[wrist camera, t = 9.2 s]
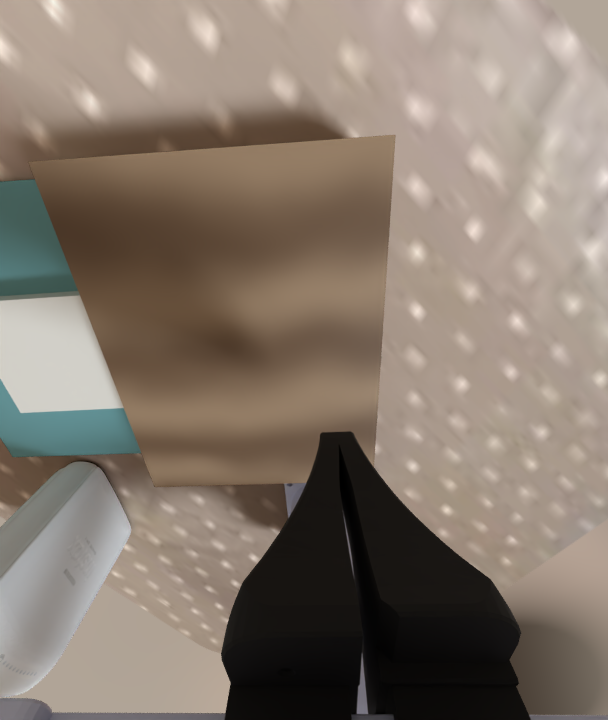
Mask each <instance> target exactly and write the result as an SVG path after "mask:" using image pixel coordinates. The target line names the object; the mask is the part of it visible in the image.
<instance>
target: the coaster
mask: <svg viewBox="0 0 608 720" xmlns="http://www.w3.org/2000/svg"><path fill="white" fill-rule="evenodd" d="M0 379H1V381H2V382H3V384H4V386H5V387H6V389H7V391H8V392H9V394H10V396H11V397H12V399H13V401H14V403H15V404H16V406H17V408H18V409H19V411H20V413H32V412H52V411H73V410H93V409H114V408H124V407H123V405H122V402H121V399H120V397H119V394H118V392H117V389H116V387H115V384H114V381H113V379H112V376H111V374H110V371H109V369H108V366H107V364H106V361H105V358H104V356H103V353H102V351H101V348H100V346H99V343H98V340H97V338H96V335H95V333H94V330H93V328H92V325H91V322H90V320H89V317H88V315H87V312H86V310H85V307H84V305H83V302H82V299H81V297H80V294H79V292H78V291H70V292H55V293H40V294H26V295H11V296H0Z"/></svg>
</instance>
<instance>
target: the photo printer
mask: <svg viewBox="0 0 608 720" xmlns="http://www.w3.org/2000/svg"><path fill="white" fill-rule="evenodd" d="M130 533H131V527H130V523H129V521H128V519H127V516H126V514H125V512H124V510H123V508H122V506H121V504H120V502H119V500H118V498H117V496H116V494H115V492H114V490H113V488H112V486H111V485H110V483H109V481H108V479H107V478H106V476H105V474H104V473H103V471H102V470H101V469H100V468H99V467H97V466H96V465H95V464H93V463H89V462H81V461H79V462H73V463H70V464H69V465H67V466H66V467H65V468H61V469H59V470H58V471H57V472H56V473H55V474H54V475H53V476H52V477H50V478H49V479H48V480H47V481H46V483H44V484H43V485H42V486H41V487H40V488H39V489H38V490H37V491H36V492H35V493H34V494H33V495H32V496H31V497H30V498H29V499H28V500H27V501H26V502H25V503H24V504H23V505H22V506H21V507H20V508H19V509H18V510H17V511H16V512H15V513H14V514H13V515H12V516H11V517H10V518H9V519H8V520H7V521H6V522H5V523H4V524H3V525H2V526H1V527H0V697H10V696H15V695H19V694H22V693H24V692H26V691H28V690H30V689H31V688H32V687H34V686H35V685H36V684H37V683H38V682H40V681H41V680H42V679H43V678H44V677H45V676H46V675H47V673H49V671H50V670H51V669H52V668H53V667H54V665H55V664H56V663H57V661H58V660H59V658H60V657H61V655H62V654H63V652H64V650H65V649H66V647H67V645H68V643H69V642H70V640H71V638H72V636H73V635H74V633H75V631H76V629H77V628H78V626H79V624H80V623H81V621H82V619H83V617H84V616H85V614H86V612H87V610H88V608H89V607H90V605H91V603H92V601H93V600H94V598H95V596H96V595H97V593H98V591H99V589H100V588H101V586H102V584H103V582H104V581H105V579H106V577H107V575H108V574H109V572H110V570H111V568H112V567H113V565H114V563H115V561H116V560H117V558H118V556H119V554H120V553H121V551H122V549H123V547H124V545H125V544H126V542H127V540H128V538H129V536H130Z"/></svg>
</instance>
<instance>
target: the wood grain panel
mask: <svg viewBox="0 0 608 720" xmlns="http://www.w3.org/2000/svg"><path fill="white" fill-rule="evenodd" d="M394 150H395V135H386V136H373V137H359V138H345V139H332V140H318V141H305V142H291V143H277V144H264V145H250V146H236V147H223V148H209V149H196V150H182V151H168V152H155V153H141V154H127V155H114V156H100V157H87V158H73V159H59V160H46V161H32V162H28V163H29V166H30V169H31V171H32V174H33V176H34V179H35V181H36V184H37V186H38V189H39V192H40V194H41V197H42V199H43V202H44V204H45V207H46V210H47V212H48V215H49V217H50V220H51V222H52V225H53V228H54V230H55V233H56V235H57V238H58V240H59V243H60V246H61V248H62V251H63V253H64V256H65V258H66V261H67V263H68V266H69V269H70V271H71V274H72V276H73V279H74V281H75V284H76V287H77V289H78V292H79V294H80V297H81V299H82V302H83V305H84V307H85V310H86V312H87V315H88V317H89V320H90V322H91V325H92V328H93V330H94V333H95V335H96V338H97V340H98V343H99V346H100V348H101V351H102V353H103V356H104V358H105V361H106V364H107V366H108V369H109V371H110V374H111V376H112V379H113V381H114V384H115V387H116V389H117V392H118V394H119V397H120V399H121V402H122V405H123V407H124V410H125V412H126V415H127V417H128V420H129V423H130V425H131V428H132V430H133V433H134V435H135V438H136V440H137V443H138V446H139V448H140V451H141V453H142V456H143V458H144V461H145V464H146V466H147V469H148V471H149V474H150V476H151V479H152V482H153V484H154V487H174V486H212V485H249V484H286V483H306V482H307V480H308V478H309V475H310V473H311V470H312V467H313V464H314V461H315V458H316V455H317V451H318V446H319V440H320V434H321V433H322V432H347V431H351V432H352V433H354V435H355V437H356V439H357V441H358V443H359V445H360V447H361V448H362V450H363V452H364V453H365V455H366V456H367V458H368V459H369V461H370V462H371V464H372V465H373V467H374V457H375V441H376V426H377V411H378V395H379V380H380V365H381V349H382V334H383V319H384V303H385V288H386V273H387V257H388V242H389V227H390V211H391V196H392V181H393V165H394Z"/></svg>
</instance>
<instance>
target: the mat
mask: <svg viewBox="0 0 608 720" xmlns="http://www.w3.org/2000/svg"><path fill="white" fill-rule="evenodd" d="M70 291H78V289H77V287H76V284H75V281H74V279H73V276H72V274H71V271H70V269H69V266H68V263H67V261H66V258H65V256H64V253H63V251H62V248H61V246H60V243H59V240H58V238H57V235H56V233H55V230H54V228H53V225H52V222H51V220H50V217H49V215H48V212H47V210H46V207H45V204H44V202H43V199H42V197H41V194H40V192H39V189H38V186H37V184H36V181H35V179H32V180H18V181H4V182H0V296H11V295H26V294H40V293H55V292H70ZM0 438H1V440H2V441H3V443H4V444H5V446H6V447H7V449H8V450H9V452H10V454H11V455H12V457H34V456H66V455H97V454H129V453H141V451H140V448H139V446H138V443H137V440H136V438H135V435H134V433H133V430H132V428H131V425H130V423H129V420H128V417H127V415H126V412H125V410H124V408H114V409H93V410H73V411H52V412H32V413H20V411H19V409H18V408H17V406H16V404H15V403H14V401H13V399H12V397H11V396H10V394H9V392H8V391H7V389H6V387H5V386H4V384H3V382H2V381H1V379H0Z"/></svg>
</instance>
